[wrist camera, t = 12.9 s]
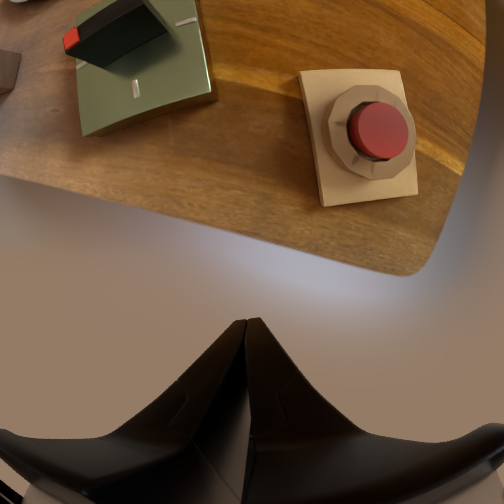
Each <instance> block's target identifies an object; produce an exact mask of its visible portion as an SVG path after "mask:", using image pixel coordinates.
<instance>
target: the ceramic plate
mask: <svg viewBox="0 0 504 504" xmlns="http://www.w3.org/2000/svg"><path fill="white" fill-rule="evenodd" d="M10 1H12V2H17V3H19V2H25V1H28V0H10Z"/></svg>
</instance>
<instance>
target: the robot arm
mask: <svg viewBox="0 0 504 504" xmlns="http://www.w3.org/2000/svg"><path fill="white" fill-rule="evenodd" d="M0 458H1V459H2V460H3V461H4V462H6V463H7V464H8V465H9V466H10V467H11V468H12V469H13V470H15V471H16V472H17V473H18V474H19V475H21V476H22V477H23V478H24V479H25V480H27V481H28V482H29V483H30V485H29V487H28V489H27V491H26V493H25V495H24V497H22V496H21V495H19V494H18V493H17V492H15V491H14V490H13V489H11V488H10V487H9V486H7V485H6V484H5V483H4V482H3V481H1V480H0V504H504V488H503V485H502V483H501V480H500V478H499V476H498V474H497V471H496V470H497V468H499V467H500V466H501V465H502V464H503V463H504V424H500V423H489V424H486V425H483V426H481V427H479V428H477V429H476V430H474V431H472V432H470V433H468V434H467V435H465V436H462V437H460V438H458V439H455V440H451V441H447V442H440V443H425V442H417V441H410V440H403V439H396V438H390V437H385V436H379V435H374V434H371V433H368V432H366V431H364V430H362V429H360V428H359V427H357V426H356V425H355V424H353V423H352V422H351V421H350V420H349V419H348V418H346V417H345V416H344V415H343V414H342V413H341V412H340V411H338V410H337V409H336V408H335V407H334V406H333V405H332V404H331V403H329V402H328V401H327V400H326V399H325V398H324V397H323V396H322V395H321V394H320V393H319V392H318V391H317V390H316V389H315V388H314V387H313V386H312V385H311V384H310V383H309V382H308V380H307V379H306V378H305V376H303V374H302V373H301V371H300V370H299V369H298V367H297V366H296V365H295V364H294V362H293V361H292V360H291V358H290V357H289V356H288V354H287V353H286V352H285V350H284V349H283V347H282V346H281V345H280V344H279V342H278V341H277V339H276V338H275V337H274V335H273V334H272V333H271V331H270V330H269V328H268V327H267V326H266V324H265V323H264V322H263V320H262V319H261V318H260V317H259V318H251V319H248V320H246V319H243V320H236V321H234V322H233V323H232V324H231V325H230V326H229V327H228V328H227V329H226V330H225V331H224V333H222V335H220V336H219V338H218V339H217V340H216V341H215V342H214V343H213V344H212V345H211V346H210V347H209V348H208V349H207V350H206V351H205V352H204V353H203V354H202V355H201V356H200V357H199V358H198V359H197V360H196V361H195V362H194V363H193V364H192V365H191V366H190V367H189V368H188V369H187V370H186V371H185V372H184V373H183V374H182V375H181V376H180V377H179V378H178V379H177V381H175V382H174V383H173V384H172V385H171V386H170V387H169V388H168V389H166V390H165V391H164V392H163V393H162V394H161V395H160V396H159V397H158V398H157V399H155V400H154V401H153V402H152V403H150V404H149V405H148V406H147V407H145V408H144V409H143V410H142V411H140V412H139V413H138V414H136V415H135V416H134V417H133V418H131V419H130V420H128V421H127V422H126V423H124V424H123V425H122V426H121V427H119V428H118V429H116V430H115V431H113V432H112V433H110V434H108V435H105V436H102V437H98V438H91V439H36V438H28V437H22V436H18V435H15V434H13V433H12V432H10V431H8V430H5V429H0Z"/></svg>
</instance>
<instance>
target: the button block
mask: <svg viewBox="0 0 504 504" xmlns="http://www.w3.org/2000/svg"><path fill="white" fill-rule="evenodd" d="M298 79H299V83H300V88H301V93H302V97H303V102H304V107H305V112H306V117H307V122H308V127H309V133H310V138H311V144H312V150H313V156H314V162H315V168H316V175H317V182H318V189H319V196H320V203H321V205H322V206H324V207H328V206H335V205H342V204H349V203H356V202H364V201H371V200H379V199H387V198H395V197H403V196H412V195H418V185H417V172H416V161H415V152H414V151H415V148H416V145H417V137H416V130H415V124H414V119H413V117H412V115H411V114H410V112H409V111H408V107H407V102H406V97H405V93H404V88H403V84H402V80H401V76H400V72H399V71H397V70H380V69H329V70H312V71H300V73H299V75H298ZM375 102H383V103H387V104H389V105H391V106H393V107H395V108H396V109H397V110H398V111H399V112H400V113H401V114H402V116H403V117H404V119H405V121H406V123H407V126H408V142H407V145H406V147H405V149H404V150H403V151H402V152H401V153H400V154H399V155H398V156H396V157H393V158H373V157H369V156H367V155H365V154H363V153H362V152H360V151H359V150H358V149H357V148H356V146H355V145H354V143H353V141H352V139H351V136H350V130H349V128H350V121H351V118H352V116H353V115H354V113H355V112H356V111H357V110H359V109H360V108H362V107H365V106H367V105H369V104H372V103H375Z"/></svg>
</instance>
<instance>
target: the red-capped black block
mask: <svg viewBox="0 0 504 504" xmlns="http://www.w3.org/2000/svg"><path fill="white" fill-rule="evenodd" d="M166 31H167V28H166V25H165V23H164V20H163V18H162V16H161V15H160V13H159V12H158V11H157V10H156V9H155V7H154V6H153V5H152V4H151V3H150V1H149V0H117V1H115V2H113V3H112V4H110V5H108V6H107V7H105V8H104V9H102V10H100V11H99V12H97V13H96V14H94V15H93V16H91V17H90V18H88V19H87V20H86V21H84V22H83V23H81V24H80V25H79V26H77V27H74V28H73V29H72V30H70V31H69V32H68V33H67V34H65V35H64V36H63V42H64V48H65V53H66V54H67V55H70V56H72V57H75V58H77V59H80V60H82V61H85V62H87V63H90V64H92V65H94V66H97V67H99V68H102V67H104V66H105V65H107V64H108V63H110V62H112V61H113V60H115V59H116V58H118V57H120V56H121V55H123V54H125V53H126V52H128V51H130V50H132V49H133V48H135V47H137V46H139V45H140V44H142V43H144V42H146V41H148V40H150V39H152V38H154V37H156V36H158V35H160V34H162V33H164V32H166Z"/></svg>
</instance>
